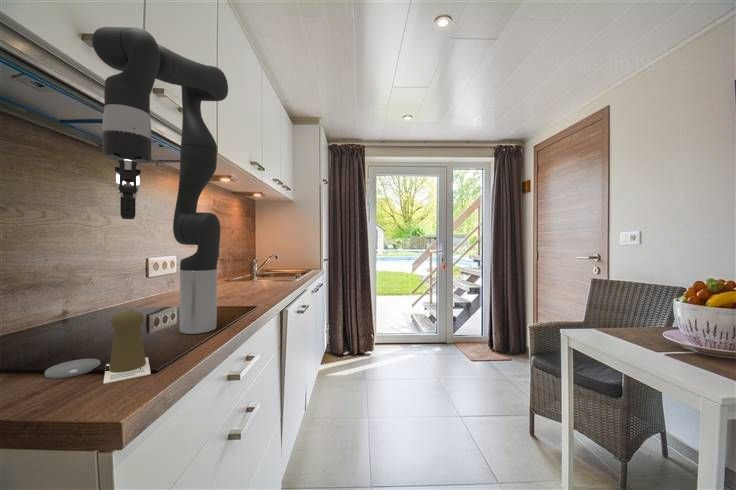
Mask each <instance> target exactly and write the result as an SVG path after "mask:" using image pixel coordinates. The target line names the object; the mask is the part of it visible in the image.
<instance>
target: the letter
mask: <svg viewBox="0 0 736 490" xmlns="http://www.w3.org/2000/svg"><path fill="white" fill-rule="evenodd" d="M145 360H146V364H145V365H144V366H143V367H141V369H140V368H138V369H136V370H132V371H127V372H120V373H114V372H110V371H105V370H104V377H103V382H102V384H103V385H106V384H110V383H115V382H119V381H120V382H121V381H125V380H129V379H136V378H140V377H146V376H150V375H152V374H151V367H150V361H149V357H146V356H145ZM109 365H110V363H106V365H105V367H106V366H109Z"/></svg>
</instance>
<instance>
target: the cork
mask: <svg viewBox="0 0 736 490" xmlns="http://www.w3.org/2000/svg"><path fill="white" fill-rule="evenodd" d="M144 319H145V318H144V314H143V313H142V312H140V311H136V310H135V311H134V310H129V311H122V312H118V313H116V314H114V316H112V319H111V328H112V329H113V330H114V336H113V340H112V346H111V347H112V348H111V352H110V353H111V354H110V359H109V364H110V365H109V371H110V372H114V373H120V372H127V371H132V370H136V369H138V368H141V367H143V366H144V365H145V364H146V360H145V358H146V354H145V348H144V343H143V337H142V336H143V335H142V329H141V327H142V326H143V324H144Z"/></svg>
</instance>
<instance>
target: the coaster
mask: <svg viewBox="0 0 736 490" xmlns="http://www.w3.org/2000/svg"><path fill="white" fill-rule="evenodd" d="M99 365H100V366H101V360H100V359H98V358H80V359H74V360H69V361H64V362H61V363H58V364H55V365H53V366H50V367H48V368H47V369H46V370H44V377H45V378H47V379H65V378H72V377H76V376H81V375H84V374H87V373H90V372H93V371H94V370H93V369H94V368H96V367H98V366H99ZM100 366H99V367H100ZM99 367H98V368H99ZM92 370H93V371H92Z"/></svg>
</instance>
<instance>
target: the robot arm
mask: <svg viewBox="0 0 736 490" xmlns="http://www.w3.org/2000/svg"><path fill="white" fill-rule="evenodd" d="M91 44H92V48H93V50H94V52H95V53H96V56H97V57H98V58H99V59H100V60H101V61H102V62H103V63H104V64H105V65H107V66H108V67H110V68H112V69H114V70H117V71H120V73H116V74H113V75H111V76H108V77H107V78H105V81H104V94H103V95H104V98H103V99H104V103H103V104H104V106H103V107H104V108H103V109H104V110H103V116H102V154H103V156H104V157H105V158H108V159H111V160H113V161H118V163H119V165H118V166H115V167H114V175H115V179H116V183H115V184H116V189H117V191H118V195H119V199H120V204H119V205H120V212H119V213H120V216H121V218H122V219H123V220H134V219H135V218H136V200H137V196H138V192H139V189H140V181H141V176H142V174H141V172H142V171H141V169H138V168H137V165H138V164H148V163H150V162H151V161H152V123H151V108H150V105H151V99H150V98H151V94H152V90H153V88H154V84H155V82H156V80H158V81H161V82H163V83H165V84H166V83H167V84H170V85H175V86H180V87H181V104H182V107H181V108H182V121H181V122H182V126H181V127H182V128H181V139H180V150H179V151H180V152H179V154H180V155H179V178H178V190H177V197H176V203H175V206H174V208H175V209H174V215H173V222H172V223H173V224H172V232H173V237H174V239H175V241H176V242H177V243H179V244H180V245H183V246H185V245H186V246H188V245H190V246H197V248H196V251H195V253H193V254H192V255H190V256H187V257H185V258H182V259H181V260H180V262H179V332H180V333H182V334H187V335H192V334H193V335H194V334H195V335H196V334H197V335H198V334H204V333H209V332H211V331H214V330H216V329H217V316H218V315H217V314H218V313H217V311H218V310H217V307H218V305H217V304H218V303H217V302H218V297H217V293H218V261H219V258H220V243H221V242H220V241H221V223H220V219H219V218H218V216H217V215H216V214H215V213H212V212H199V211H198V212H197V209H198V208H197V207H198V204H199V203H198V202H199V199H200V196H201V195H202V192H203V191H204V189H205V188H206V186H207V185H208V184H209V182H210V181H211V180H212V177H213V176H214V174H215V172H216V170H217V164H218V161H217V160H218V145H217V143H216V140H215V138H214V136H213V135H212V133H211V132H210V131H211V130H209V128H208V127H207V124H206V123H205V121H204V119H203V116H202V110H201V109H202V108H201V107H202V105H201V104H202V102H221V101H224V100H225V99H226V98H227V97H228V93H229V84H228V83H229V82H228V80H227V77H226V75H225V72H223V70H222V69H221V68H219V67H217V66H213V65H209V64H208V65H206V64H204V63H200V62H197V61H195V60H192V59H189V58H187V57H185V56H182V55H180V54H178V53H176V52H175V51H172V50H171V49H169V48H167V47H165V46H163V45H160V44H159V43H157V41H156V39H155V38H154V36H153V35H152V34H151V33H150V32H148V31H147V30H146V29H144V28H140V27H126V26H124V27H123V26H103V27H99V28H97V29H96V30H95V31H94V32H93V34H92V36H91Z"/></svg>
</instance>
